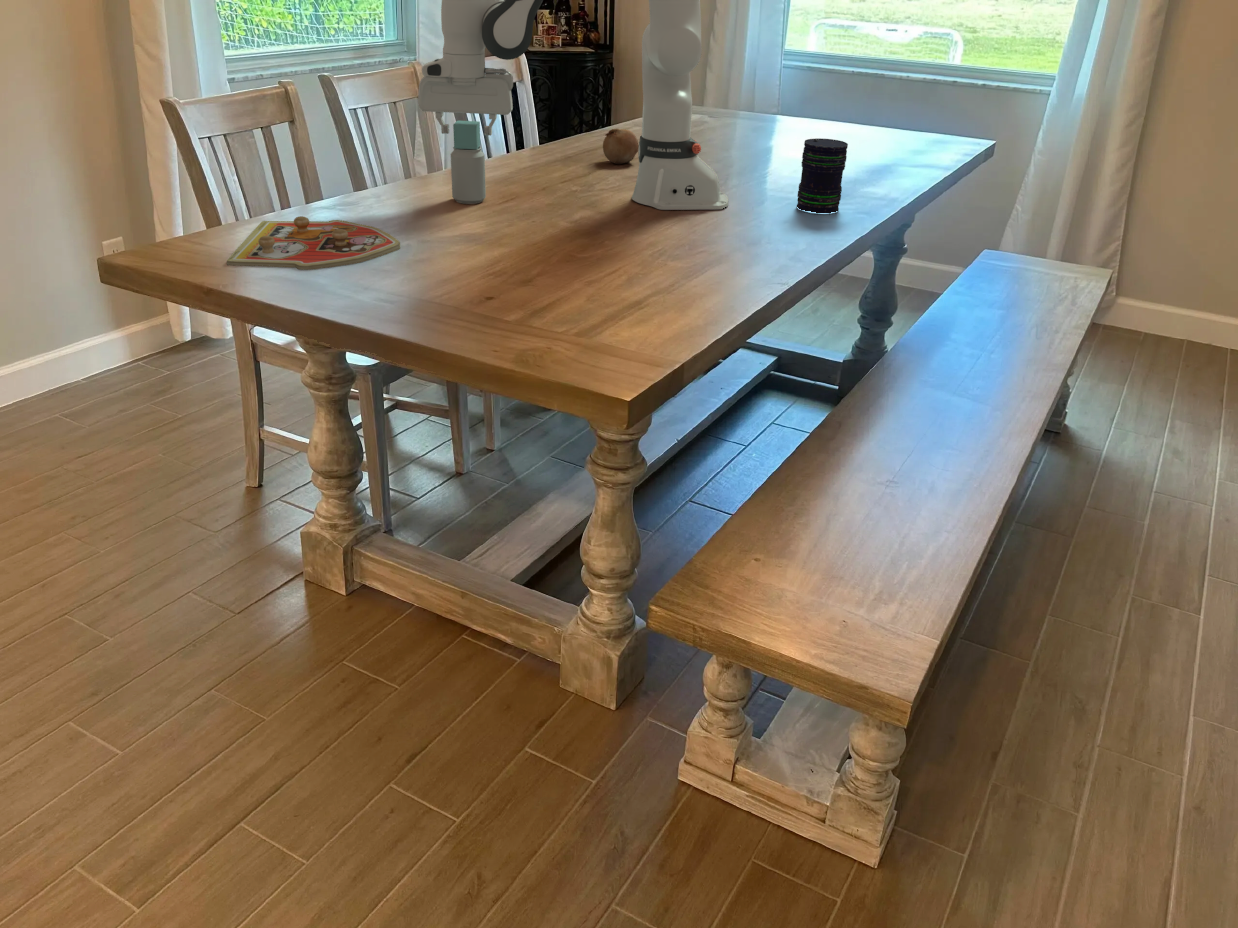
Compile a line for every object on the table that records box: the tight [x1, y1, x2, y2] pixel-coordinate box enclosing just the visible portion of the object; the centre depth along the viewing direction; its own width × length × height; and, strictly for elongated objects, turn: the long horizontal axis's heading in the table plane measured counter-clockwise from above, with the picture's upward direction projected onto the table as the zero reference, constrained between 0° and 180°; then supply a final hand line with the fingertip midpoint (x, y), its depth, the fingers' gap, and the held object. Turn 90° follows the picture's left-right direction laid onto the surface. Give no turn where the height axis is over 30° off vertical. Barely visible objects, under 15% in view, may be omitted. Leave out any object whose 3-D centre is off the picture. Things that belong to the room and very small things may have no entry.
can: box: [450, 145, 487, 205], centre depth 223 cm, size 8×8×12 cm
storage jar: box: [796, 137, 849, 213], centre depth 227 cm, size 10×10×15 cm
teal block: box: [452, 120, 481, 149], centre depth 219 cm, size 5×5×5 cm
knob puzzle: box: [226, 215, 401, 271], centre depth 192 cm, size 29×30×4 cm
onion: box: [602, 128, 639, 165], centre depth 264 cm, size 10×9×10 cm
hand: (466, 134), depth 219 cm, fingers open, 8 cm apart
